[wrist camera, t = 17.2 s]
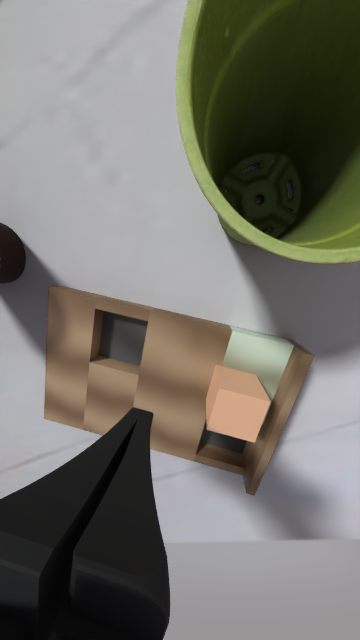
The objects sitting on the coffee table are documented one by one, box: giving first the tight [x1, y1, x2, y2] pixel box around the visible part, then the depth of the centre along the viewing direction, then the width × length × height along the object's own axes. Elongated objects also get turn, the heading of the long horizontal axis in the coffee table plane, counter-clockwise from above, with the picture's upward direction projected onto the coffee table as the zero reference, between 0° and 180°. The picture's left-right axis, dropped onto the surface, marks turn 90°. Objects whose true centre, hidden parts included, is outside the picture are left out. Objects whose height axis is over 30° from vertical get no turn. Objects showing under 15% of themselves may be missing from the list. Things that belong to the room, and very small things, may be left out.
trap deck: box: [44, 286, 314, 495], centre depth 20 cm, size 16×25×4 cm, turn 78°
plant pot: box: [176, 0, 360, 264], centre depth 11 cm, size 12×12×11 cm
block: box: [206, 365, 271, 443], centre depth 17 cm, size 4×4×4 cm
